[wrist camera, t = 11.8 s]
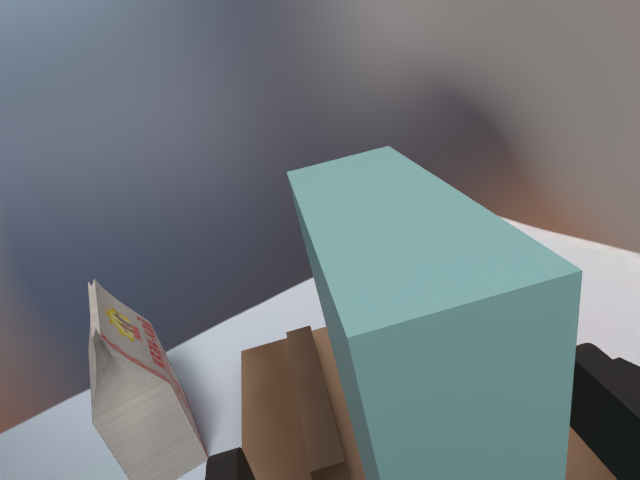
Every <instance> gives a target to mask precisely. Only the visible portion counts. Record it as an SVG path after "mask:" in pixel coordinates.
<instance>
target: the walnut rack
mask: <svg viewBox="0 0 640 480" xmlns="http://www.w3.org/2000/svg"><path fill="white" fill-rule="evenodd" d="M286 333H287V338H286V339H282V340H279V341H275V342H272V343H268V344H265V345H261V346H258V347H255V348H251V349H248V350H244V351H241V361H242V450H243V452H244V454H245V456H246V459H247V461H248V463H249V465H250V468H251V470H252V472H253V474H254V477H255V479H256V480H366V478H365V474H364V470H363V466H362V462H361V459H360V455H359V451H358V447H357V443H356V439H355V435H354V431H353V427H352V424H351V420H350V416H349V412H348V408H347V404H346V400H345V396H344V393H343V389H342V385H341V381H340V377H339V373H338V369H337V365H336V361H335V358H334V354H333V350H332V346H331V342H330V338H329V334H328V330H327V327H324V328H320V329H317V330H313V331H311V327H310V326H307V327H303V328H300V329H296V330H293V331H290V332H286ZM565 480H617V479H616V477H615V476H614V475H613V474H612V473H611V472H610V471H609V470H608V468H607V467H606V466H605V465H604V464H603V463H602V462H601V461H600V459H599V458H598V457H597V456H596V455H595V454H594V453H593V452H592V450H591V449H590V448H589V447H588V446H587V445H586V444H585V442H584V441H583V440H582V439H581V438H580V437H579V436H578V435H577V433H576V432H575V431H574V430H573V429H572V428H571V427H570V426H569V438H568V450H567V462H566V474H565Z"/></svg>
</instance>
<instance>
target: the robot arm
mask: <svg viewBox="0 0 640 480" xmlns="http://www.w3.org/2000/svg"><path fill="white" fill-rule="evenodd" d="M570 427H571V428H572V429H573V430H574V431H575V432H576V433H577V435H578V436H579V437H580V438H581V439H582V440H583V441H584V442H585V444H586V445H587V446H588V447H589V448H590V449H591V450H592V452H593V453H594V454H595V455H596V456H597V457H598V458H599V459H600V461H601V462H602V463H603V464H604V465H605V466H606V467H607V468H608V470H609V471H610V472H611V473H612V474H613V475H614V476H615V477H616V479H617V480H640V367H639V366H637V365H635V364H633V363H631V362H628V361H626V360H624V359H622V358H620V357H619V358H616V359H613V360H612V359H611V358H610V357H609V356H608V355H606V354H605V353H604V352H603V351H601V350H600V349H599V348H598V347H596V346H595V345H593V344H591V343H584V344H580V345H577V346H576V353H575V365H574V377H573V389H572V401H571V414H570ZM205 480H256V479H255V477H254V474H253V472H252V470H251V468H250V465H249V463H248V461H247V459H246V456H245V454H244V452H243V450H242V448H240V447H239V448H235V449H232V450H229V451H225V452H222V453H219V454H216V455H212V456H210V457H209V458H208V460H207V465H206V476H205Z"/></svg>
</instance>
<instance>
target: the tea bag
mask: <svg viewBox="0 0 640 480" xmlns="http://www.w3.org/2000/svg"><path fill="white" fill-rule="evenodd" d="M88 288H89V302H90V316H91V321H90V336H89V366H90V385H91V404H92V422H93V425H94V427H95V428H96V430H97V431H98V433H99V434H100V436H101V437H102V439H103V440H104V442H105V443H106V445H107V447H108V448H109V450H110V451H111V453H112V454H113V456H114V457H115V459H116V460H117V462H118V463H119V465H120V466H121V468H122V469H123V471H124V472H125V474H126V475H127V477H128V478H129V480H176V479H178V478H179V477H181V476H183V475H184V474H186V473H187V472H189V471H191V470H192V469H194V468H196V467H197V466H199V465H200V464H202V463H204V462H205V461H207V460H208V456H207V453H206V451H205V448H204V445H203V443H202V440H201V437H200V434H199V432H198V429H197V426H196V423H195V421H194V418H193V415H192V412H191V410H190V407H189V404H188V402H187V399H186V396H185V393H184V391H183V388H182V386H181V384H180V382H179V380H178V378H177V376H176V374H175V372H174V370H173V368H172V366H171V364H170V362H169V360H168V358H167V356H166V354H165V352H164V350H163V348H162V346H161V344H160V342H159V340H158V338H157V336H156V334H155V331H154V329H153V327H152V325H151V323H150V322H149V321H148V320H146V319H145V318H143V317H142V316H140V315H139V314H137V313H136V312H134V311H133V310H131V309H130V308H128V307H126V306H125V305H124V304H122V303H121V302H119V301H118V300H116V299H115V298H114V297H113V296H112V295H110V294H109V293H108V292H107V291H105V290H104V289H103V288H102V287H101V286H100V285H99V283H98V282H96V280H95V279H94V281H93V284H92V286H91V285H90V283H88Z"/></svg>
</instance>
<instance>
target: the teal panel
mask: <svg viewBox="0 0 640 480" xmlns="http://www.w3.org/2000/svg"><path fill="white" fill-rule="evenodd" d="M287 175H288V179H289V183H290V186H291V191H292V195H293V198H294V202H295V206H296V210H297V214H298V217H299V221H300V226H301V229H302V233H303V237H304V241H305V245H306V249H307V253H308V257H309V260H310V264H311V268H312V272H313V276H314V280H315V284H316V288H317V292H318V295H319V299H320V303H321V307H322V311H323V315H324V319H325V323H326V327H327V330H328V334H329V338H330V342H331V346H332V350H333V354H334V358H335V361H336V365H337V369H338V373H339V377H340V381H341V385H342V389H343V393H344V396H345V400H346V404H347V408H348V412H349V416H350V420H351V424H352V427H353V431H354V435H355V439H356V443H357V447H358V451H359V455H360V459H361V462H362V466H363V470H364V474H365V478H366V480H565V474H566V462H567V450H568V438H569V426H570V414H571V401H572V389H573V377H574V365H575V353H576V341H577V328H578V316H579V304H580V292H581V280H582V270H581V269H579V268H578V267H576V266H575V265H573V264H571V263H570V262H568V261H567V260H565V259H564V258H562V257H561V256H559V255H557V254H556V253H554V252H553V251H551V250H550V249H548V248H547V247H545V246H543V245H542V244H540V243H539V242H537V241H536V240H534V239H533V238H531V237H529V236H528V235H526V234H525V233H523V232H522V231H520V230H518V229H517V228H515V227H514V226H512V225H511V224H509V223H508V222H506V221H504V220H503V219H501V218H500V217H498V216H497V215H495V214H494V213H492V212H490V211H489V210H487V209H486V208H484V207H483V206H481V205H480V204H478V203H476V202H475V201H473V200H472V199H470V198H469V197H467V196H466V195H464V194H462V193H461V192H459V191H458V190H456V189H455V188H453V187H451V186H450V185H448V184H447V183H445V182H444V181H442V180H441V179H439V178H437V177H436V176H434V175H433V174H431V173H430V172H428V171H426V170H425V169H423V168H422V167H420V166H419V165H417V164H416V163H414V162H412V161H411V160H409V159H408V158H406V157H405V156H403V155H402V154H400V153H398V152H397V151H395V150H394V149H392V148H391V147H389V146H386V147H383V148H379V149H375V150H371V151H367V152H364V153H360V154H355V155H352V156H348V157H344V158H340V159H336V160H332V161H328V162H325V163H321V164H317V165H313V166H309V167H305V168H301V169H298V170H294V171H290V172H287Z"/></svg>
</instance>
